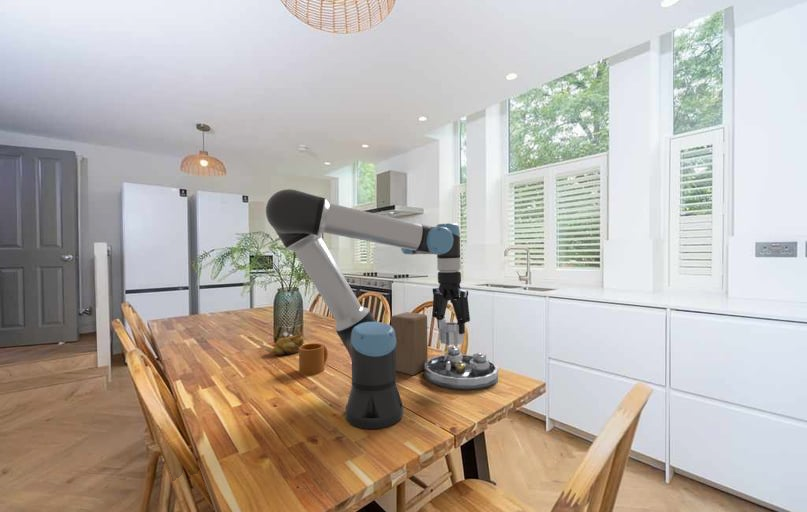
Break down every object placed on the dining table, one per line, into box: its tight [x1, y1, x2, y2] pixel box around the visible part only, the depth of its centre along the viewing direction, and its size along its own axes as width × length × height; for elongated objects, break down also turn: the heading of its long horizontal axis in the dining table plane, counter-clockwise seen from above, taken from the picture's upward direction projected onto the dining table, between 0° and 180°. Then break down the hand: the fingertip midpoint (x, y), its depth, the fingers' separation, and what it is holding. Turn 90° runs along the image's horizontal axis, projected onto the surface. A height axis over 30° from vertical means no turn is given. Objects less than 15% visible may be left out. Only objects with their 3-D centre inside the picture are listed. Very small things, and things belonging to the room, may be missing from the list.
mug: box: [298, 342, 329, 376], centre depth 123 cm, size 9×12×9 cm
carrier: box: [423, 345, 499, 391], centre depth 116 cm, size 25×25×8 cm
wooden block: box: [390, 311, 429, 376], centre depth 122 cm, size 10×10×20 cm
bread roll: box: [272, 333, 305, 356], centre depth 144 cm, size 13×10×8 cm
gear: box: [440, 321, 458, 346], centre depth 110 cm, size 7×7×6 cm
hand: (451, 341), depth 110 cm, fingers closed on gear, 7 cm apart
